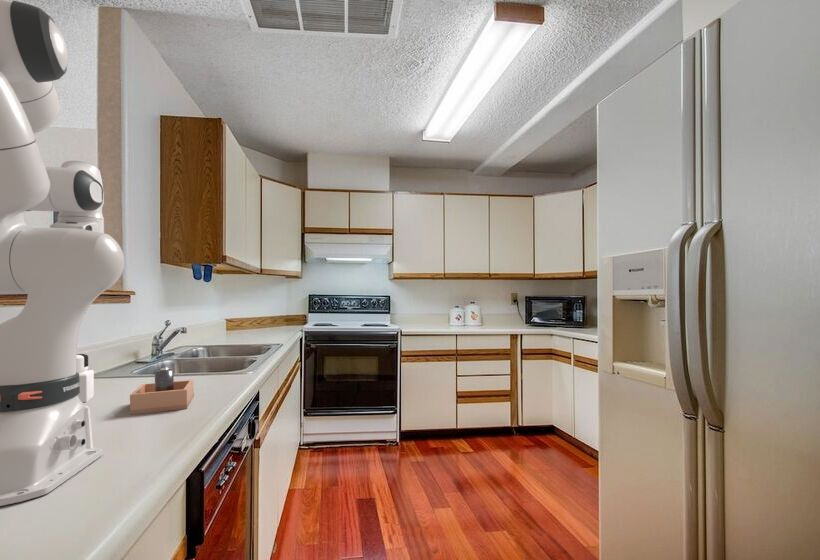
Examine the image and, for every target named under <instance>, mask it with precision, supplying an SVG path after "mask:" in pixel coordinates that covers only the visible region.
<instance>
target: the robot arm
mask: <svg viewBox="0 0 820 560" xmlns="http://www.w3.org/2000/svg"><path fill="white" fill-rule="evenodd" d="M68 61H69V50H68V46H67V43H66V40H65V37H64V35H63V34H62V31H61V30H60V29H59V27H58V26H57V24H56V21H55V20H54V19H53V17H52V16H50V15H49V14H48V13H47V12H45V11H44V10H43V9H42V8H41V7H38V6H36V5H33V4H29V3H25V2H22V1H17V0H12V1H11V2H9V1H5V0H0V295H27V296H26V297H27V299H26V300H25V304H24V307H23V308H22V310H21V311H20V312H19V313H18V315H16V316H14V317H11V318H10V319H7V320H5V321H3V322H1V323H0V507H2V506H8V505H11V504H15V503H20V502H24V501H28V500H31V499H35V498H38V497H41V496H44V495H47V494H48V493H50V492H51V491H53V490H56V488H58V487H59V486H60V485H62V484H63V483H65V482H66V481H68V480H69V479H71V478H72V477H73V476H74V475H76V474H77V473H79V472H80V471H82V470H83V469H85V468H86V467H87V466H89V465H91V464H92V463H93V462H95V461H96V460H97V459H100V458H101V457H102V456H103V455H104V451H103V448H102V447H97V446H94V445H93V433H92V421H91V420H92V419H91V410H90V407H88V405H87V404H85V403H82V402H81V401H80V399H79V397H78V394H79V393H80V379H79V373H77V372H76V354H78V353H77V351H78V340H79V339H78V337H79V332H80V331H79V330H80V327H81V324H82V321H83V318H84V316H85V314H86V313H87V311H88V309H89V308H90V307H91V305H92V304H93V303H94V301H95V300H96V299H97V298H98V297H99V296H100V295H101V294H103V293H105V291H107V290H109V289H110V288H112V287H113V286H114V285H115V284H116V283H117V282H118V281H119V279H120V278H121V276H122V275H123V272H124V268H125V256H124V255H125V254H124V252H123V250H122V248H121V246H120V244H119V243H118V241H116V239H115V238H113V237H112V236H111V235H110V234H108V233H105V219H104V215H103V208H104V204H105V197H104V196H105V195H104V184H103V179H102V174H101V170H100V169H99V168H98V167H97V166H95V165H93V164H91V163H88V162H85V161H81V160H67V161H64V162H62V164H61V166H60V167H59V166H57V167H56V166H55V167H53V166H51V167H50V166H45V163H44V160H43V158H42V157H43V156H42V154H41V151H40V149H39V148H40V147H39V144H38V142H37V140H36V136H35V134H37V133H39V132H41V131H44V130H45V129H47V128H49V127H50V126H52V125H53V123H55V122H56V120H57V118H58V117H59V114H60V111H61V105H60V104H61V103H60V98H59V95H58V92H57V89H56V87H55V84H54V82H55V81H59V80H60V79H61V78H63V76H64V75H65V74H66V73H67V69H68V67H67V65H68ZM32 211H33V212H35V211H36V212H57V213H58V214H57V221H56V222H54V223H52V224H50V226H49V227H32V226H31V227H30V226H29V225H28V224H27V223H26V221H25V216H24V212H32Z"/></svg>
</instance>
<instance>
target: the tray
mask: <svg viewBox="0 0 820 560" xmlns="http://www.w3.org/2000/svg"><path fill="white" fill-rule="evenodd" d="M194 383H195V382H194V379H188V380H187V379H186V380H176V381H174V390H170V391H159V392H155V382H151V383H150V382H149V383H142V384H141V385H139V386H138V387H137V388H136V389H135V390H134V391H133V392H132V393H130V395H129V415H137V414H138V415H139V414H149V413H157V412H167V411H168V412H169V411H179V410H187V409H188V407H189V406H190V404H191V402H192V400H193V399H194V397H195V396H194V395H195V394H194V393H195V392H194V389H195V388H194V385H195V384H194Z"/></svg>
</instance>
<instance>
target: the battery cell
mask: <svg viewBox="0 0 820 560" xmlns="http://www.w3.org/2000/svg"><path fill="white" fill-rule="evenodd" d="M174 373H175V370H174V369H172V368H171V369H170V368H169V367H161V368H159V369H158V370H155V371H154V383H155V392H159V391H170V390H174V380H175V378H174V377H175V374H174Z"/></svg>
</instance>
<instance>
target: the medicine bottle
mask: <svg viewBox="0 0 820 560" xmlns="http://www.w3.org/2000/svg"><path fill="white" fill-rule="evenodd" d="M76 372H77V373H79V379H80V393H79V394H78V397H79V399H80V401H81V402H82V403H83V404H85V403H87V402H88V401H90V400H91V399H92V398H93V397H95V370H94V369H89V355H88V354H86V353H77V354H76Z"/></svg>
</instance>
